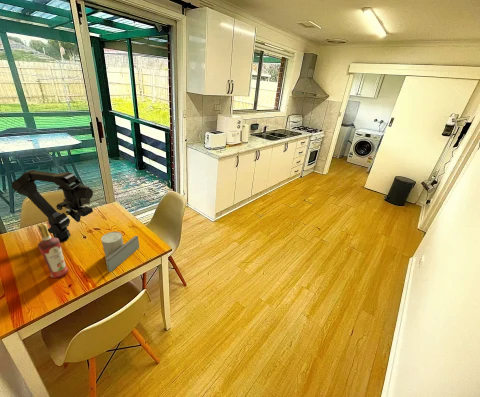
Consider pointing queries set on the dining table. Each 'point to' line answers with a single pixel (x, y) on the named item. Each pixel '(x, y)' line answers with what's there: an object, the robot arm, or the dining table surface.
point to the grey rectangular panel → (122, 253)
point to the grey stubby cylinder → (111, 242)
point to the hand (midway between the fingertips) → (78, 221)
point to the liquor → (52, 253)
